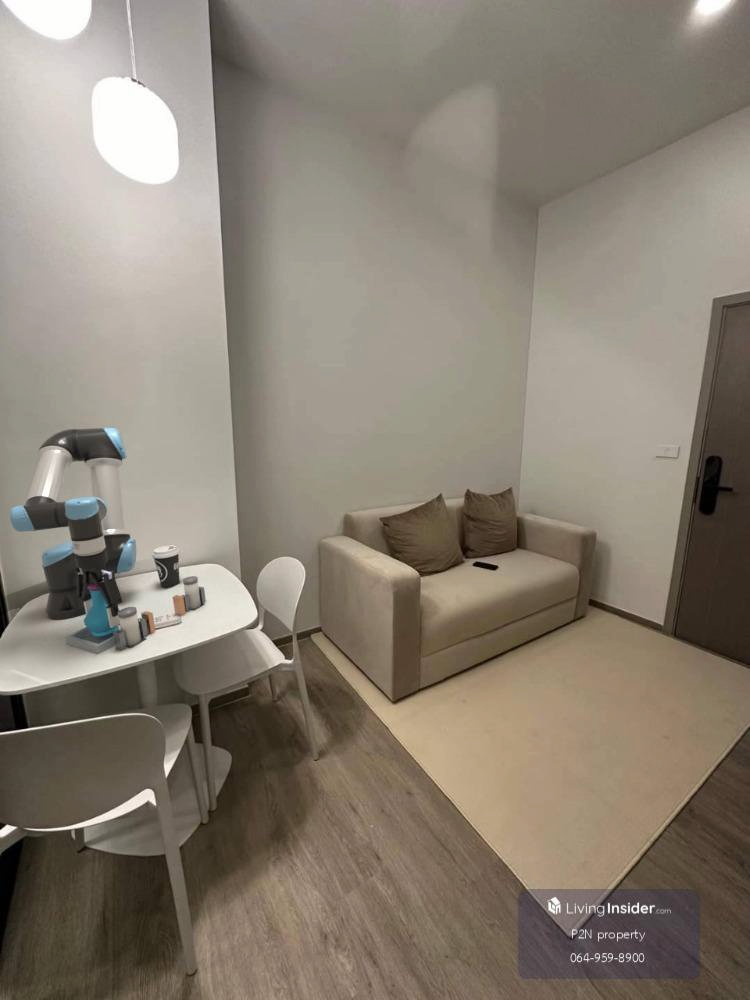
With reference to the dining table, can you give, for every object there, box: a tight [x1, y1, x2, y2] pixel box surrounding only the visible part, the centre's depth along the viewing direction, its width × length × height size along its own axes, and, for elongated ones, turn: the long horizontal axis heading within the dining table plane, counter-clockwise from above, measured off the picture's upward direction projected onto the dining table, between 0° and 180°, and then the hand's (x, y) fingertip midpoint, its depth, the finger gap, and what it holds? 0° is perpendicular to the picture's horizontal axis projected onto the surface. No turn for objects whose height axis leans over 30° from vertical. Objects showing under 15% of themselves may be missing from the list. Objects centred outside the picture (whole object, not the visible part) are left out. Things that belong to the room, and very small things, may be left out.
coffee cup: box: [151, 544, 181, 589], centre depth 155 cm, size 10×10×15 cm
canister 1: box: [118, 606, 141, 646], centre depth 115 cm, size 5×5×10 cm
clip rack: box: [112, 586, 207, 651], centre depth 126 cm, size 6×31×7 cm, turn 158°
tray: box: [65, 624, 120, 655], centre depth 120 cm, size 14×14×3 cm
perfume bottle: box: [83, 582, 120, 637], centre depth 118 cm, size 9×9×15 cm
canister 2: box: [182, 575, 201, 609], centre depth 136 cm, size 5×5×10 cm
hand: (104, 622), depth 119 cm, fingers closed on perfume bottle, 9 cm apart
